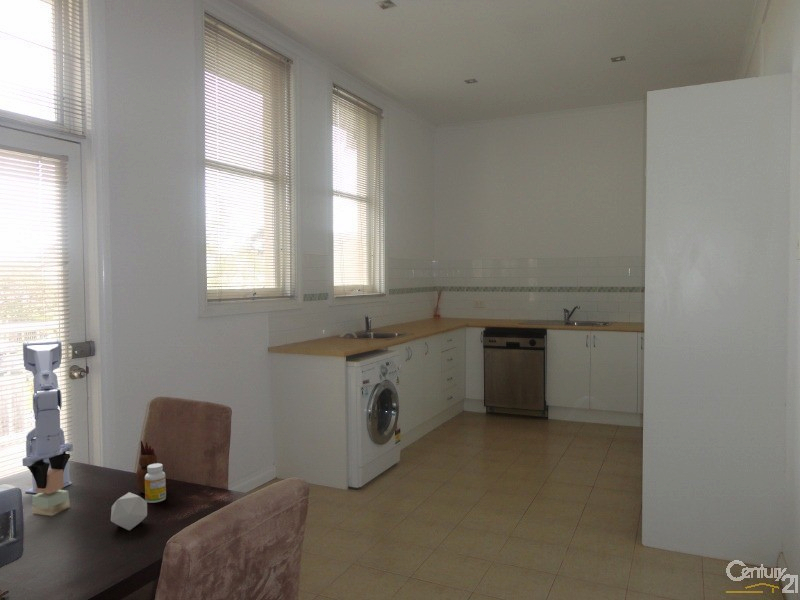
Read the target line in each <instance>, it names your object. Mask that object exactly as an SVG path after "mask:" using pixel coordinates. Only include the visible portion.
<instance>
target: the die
mask: <svg viewBox="0 0 800 600" xmlns="http://www.w3.org/2000/svg"><path fill="white" fill-rule="evenodd" d="M110 509H111V511H110V512H111V513H110V521H111V522H112V523H113V524H115V525H117V526H119V527H121V528H123V529H124V530H127V531H129V532H130V531H131V530H132V529H134V528H135V527H136V526H137V525H139V524H140V523H141V522H143V521H144V520H145V518H146V517H147V516H148V502H147V501H146V500H145V498H142V497H141V496H140V495H137V494H135V493H132V492H129V491H128V492H127V493H126V494H124V495H122V496H121V497H119V498H117V500H115V502H114V503H113V504H112V505H111V508H110Z"/></svg>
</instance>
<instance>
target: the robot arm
mask: <svg viewBox="0 0 800 600" xmlns="http://www.w3.org/2000/svg"><path fill="white" fill-rule="evenodd" d="M62 347H63V346H62V341H61V340H60V338H59V339H58V338H57V339H51V340H49V339H47V340H46V339H45V340H33V341H30V340H29V341H27V340H25V341H24V342H23V343H22V355H23V356H22V357H23V358H22V359H23V360H22V361H23V367H25V368H24V369H25V370H26V371H29V372H31V373H32V376H33V379H32V381H33V393H32V410H33V414H34V420H35V421H34V426H35V427H34V428H33V429H31V430H30V431H28V433H27V435H26V438H25V439H26V441H25V449H26V450H25V452H26V454H25V455H26V457H23V458H22V467H26V468H27V469H28V470H29V471H30V473H31V477H32V478H31V481H32V482H31V483H32V484H31V485H32V486H31V488H27V489H26V490H24V493H30V494H31V493H32V494H38V492H36V484H37V487H38V488H42V489H44V488H46V484H47V472H48V469H49V468H50V469H62V470H63V488H65V487H67V486H70V485H72V481H70V462H69V460H70V458H71V454H70V453H68V452H72V451H73V450H74V449H73V446H74V445H73V443H68V442H67V443H66V440H65V439H66V438H65V432H64V430H63V428H62V427H61V416H60V415H61V413H60V412H61V410H62V405H63V399H62V392H61V389H60V386H59V384H58V383H59V381H58V376H57V374H56V373H55V372H54V370H56V369H59V368H60V366H61V364H62V357H63V349H62ZM58 407H59V408H58Z"/></svg>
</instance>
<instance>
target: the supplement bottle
mask: <svg viewBox="0 0 800 600" xmlns="http://www.w3.org/2000/svg"><path fill="white" fill-rule="evenodd" d="M163 465H164V464H162V463H159V462H157V463H156V464H151V465H148V466H147V472H148V473H147V474H146V475H145V493H144V500H145V501H147V504H148V503H149V504H154V503H160V502H163V501H165V500H166V498H167V488H166V487H167V486H166V485H167V483H166V472H164V471H163Z"/></svg>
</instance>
